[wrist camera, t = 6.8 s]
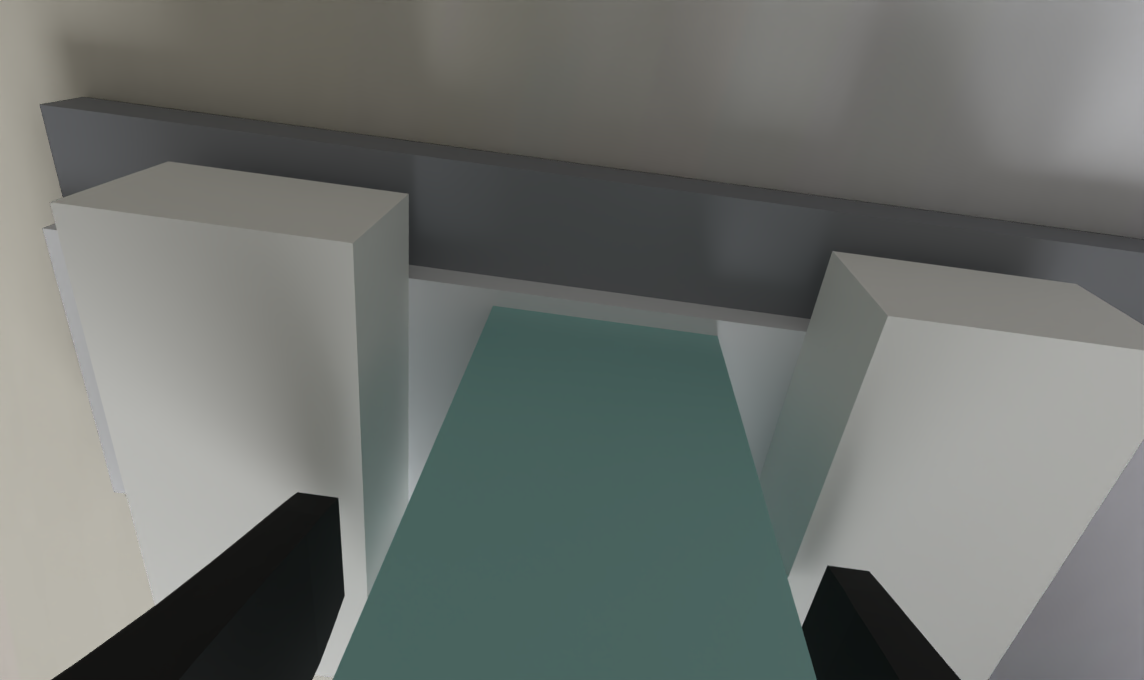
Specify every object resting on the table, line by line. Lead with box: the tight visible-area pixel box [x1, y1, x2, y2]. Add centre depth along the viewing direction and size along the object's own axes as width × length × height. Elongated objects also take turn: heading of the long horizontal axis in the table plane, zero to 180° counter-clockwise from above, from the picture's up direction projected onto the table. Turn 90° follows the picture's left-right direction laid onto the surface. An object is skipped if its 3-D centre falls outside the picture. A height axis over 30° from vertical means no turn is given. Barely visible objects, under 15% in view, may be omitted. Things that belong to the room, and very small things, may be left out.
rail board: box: [40, 97, 1144, 680], centre depth 12 cm, size 20×10×4 cm, turn 84°
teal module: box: [333, 306, 817, 680], centre depth 9 cm, size 4×6×8 cm, turn 174°
